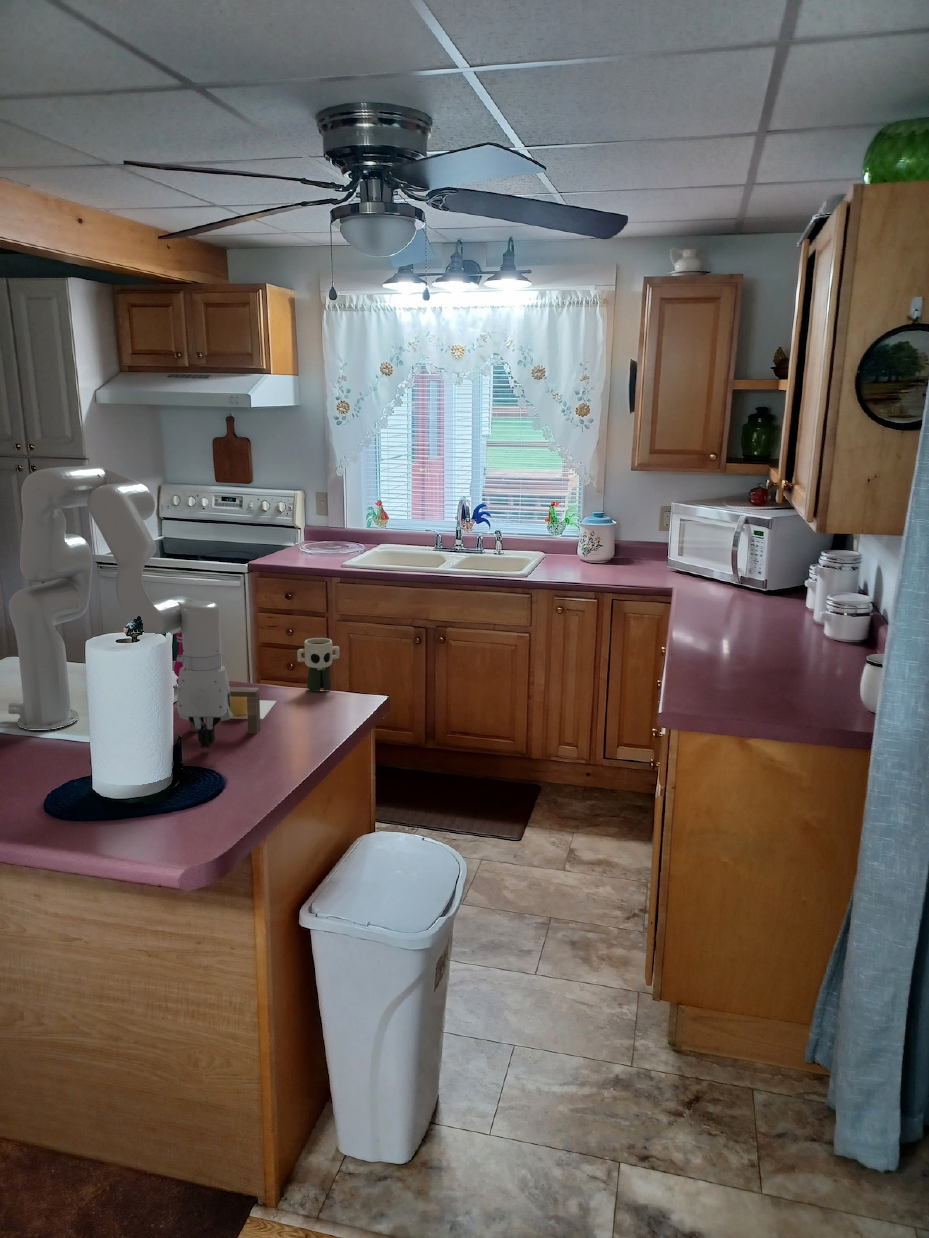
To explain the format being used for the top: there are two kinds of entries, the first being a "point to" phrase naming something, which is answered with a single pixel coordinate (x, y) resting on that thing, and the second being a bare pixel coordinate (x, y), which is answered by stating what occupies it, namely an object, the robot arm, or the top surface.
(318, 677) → the character mug
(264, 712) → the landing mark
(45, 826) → the top surface
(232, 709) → the ball
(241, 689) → the bridge
